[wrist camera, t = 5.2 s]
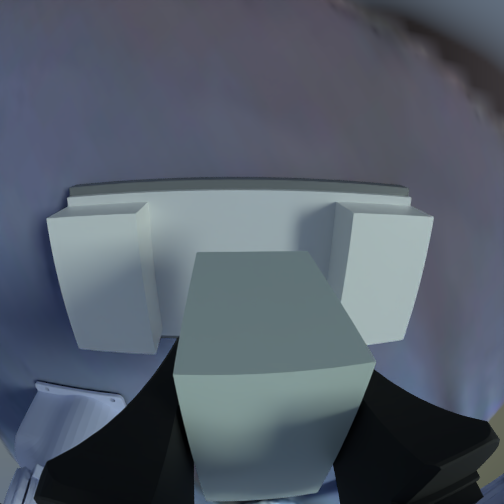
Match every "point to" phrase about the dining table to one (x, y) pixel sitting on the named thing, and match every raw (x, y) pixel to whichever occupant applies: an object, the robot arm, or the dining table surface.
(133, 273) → the board
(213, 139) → the dining table surface
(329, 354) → the block
